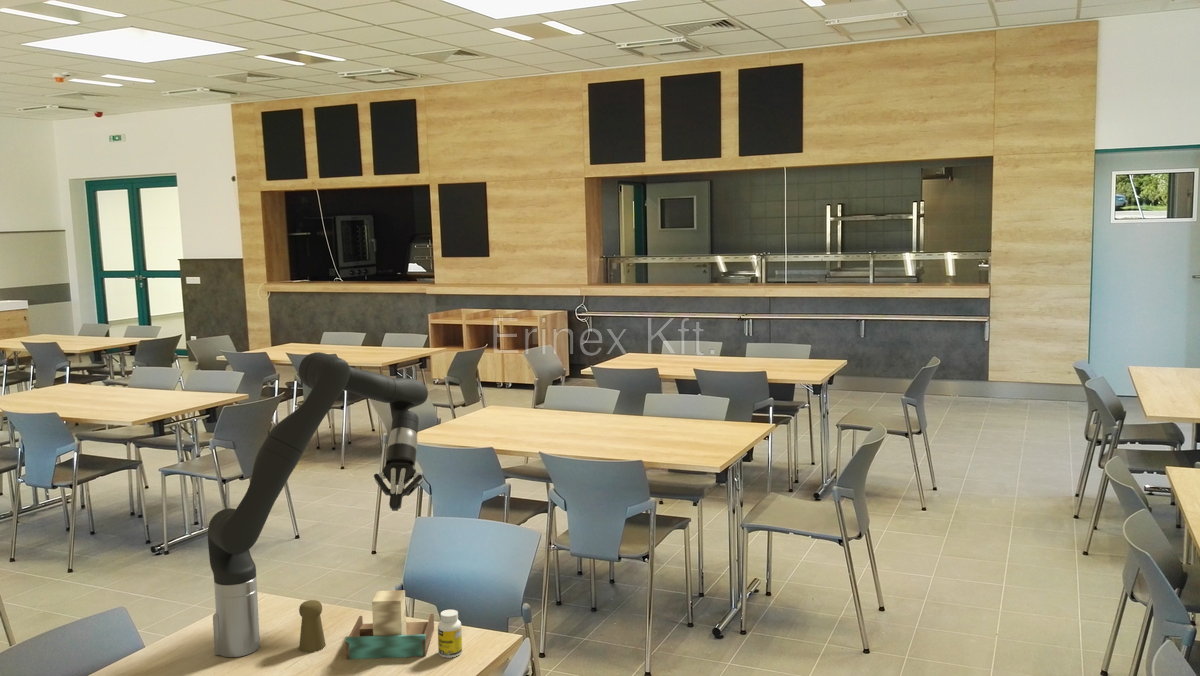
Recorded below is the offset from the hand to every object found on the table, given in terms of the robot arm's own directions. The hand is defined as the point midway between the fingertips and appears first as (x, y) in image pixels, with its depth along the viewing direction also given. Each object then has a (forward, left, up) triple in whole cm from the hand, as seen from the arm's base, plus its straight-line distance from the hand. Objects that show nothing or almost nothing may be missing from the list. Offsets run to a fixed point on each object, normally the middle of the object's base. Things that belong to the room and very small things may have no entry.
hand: (394, 509), depth 237 cm
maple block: (+2, -21, -26) cm, 33 cm away
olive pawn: (-17, -18, -28) cm, 37 cm away
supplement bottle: (+16, -24, -28) cm, 40 cm away
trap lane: (+1, -18, -28) cm, 33 cm away
